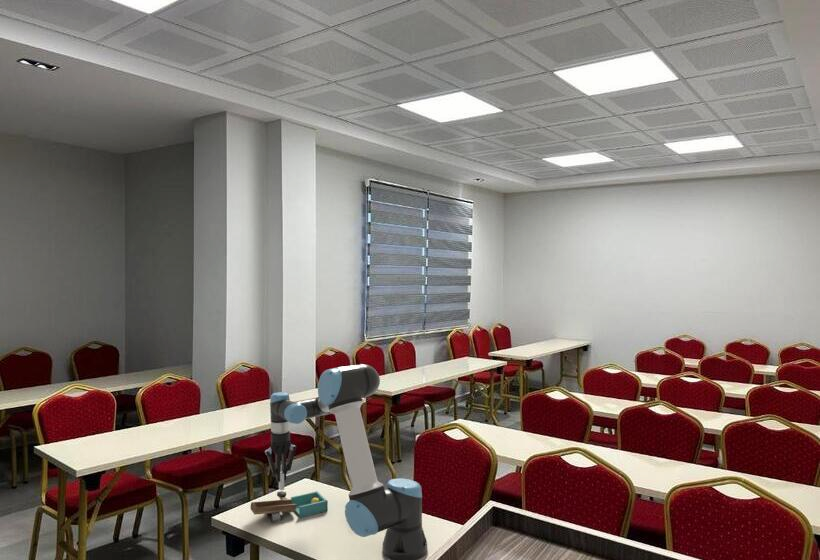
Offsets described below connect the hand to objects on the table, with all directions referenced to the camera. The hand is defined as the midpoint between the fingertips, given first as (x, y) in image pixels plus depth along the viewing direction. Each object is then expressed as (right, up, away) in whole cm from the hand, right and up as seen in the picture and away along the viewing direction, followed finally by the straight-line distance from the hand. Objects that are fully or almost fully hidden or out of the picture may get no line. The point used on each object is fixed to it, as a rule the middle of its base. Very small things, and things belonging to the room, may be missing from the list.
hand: (281, 488), depth 226 cm
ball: (+15, -3, -5) cm, 16 cm away
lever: (-3, -4, -9) cm, 10 cm away
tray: (+12, -6, -6) cm, 15 cm away
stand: (0, -6, -14) cm, 15 cm away
